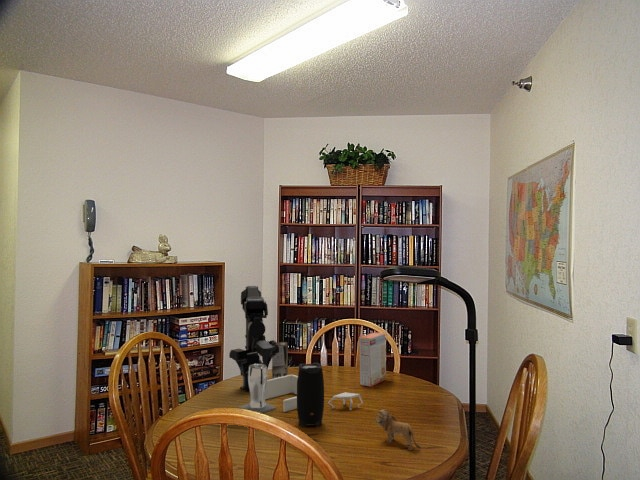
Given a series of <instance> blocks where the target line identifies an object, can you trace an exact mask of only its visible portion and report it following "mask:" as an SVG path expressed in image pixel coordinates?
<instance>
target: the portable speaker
mask: <svg viewBox="0 0 640 480" xmlns="http://www.w3.org/2000/svg"><path fill="white" fill-rule="evenodd" d="M323 373H324V370H323V365H322V364H321V363H319V362H312V363H300V364H299V365H298V373H297V376H298V379H297V394H296V396H297V408H296V409H297V418H298V425H300V426H301V427H304V428H306V427H307V426H314V427H319V426H320V427H321V425H322V423H323V422H322V421H323V417H324V409H325V381H324V374H323Z"/></svg>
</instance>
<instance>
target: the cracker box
mask: <svg viewBox="0 0 640 480" xmlns="http://www.w3.org/2000/svg"><path fill="white" fill-rule="evenodd" d="M358 338H359V339H358V340H359V344H358V345H359V347H358V349H359V386H363V387H369V388H372V387H374V386H376V385H378V384H379V383H382V382H384V381H386V380H387V374H386V373H387V362H386V361H387V360H386V359H387V352H386V347H387V345H386V333H384V332H377V331H376V332H371V333H368V334H365V335H362V336H359V337H358Z"/></svg>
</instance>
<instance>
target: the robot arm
mask: <svg viewBox="0 0 640 480" xmlns="http://www.w3.org/2000/svg"><path fill="white" fill-rule="evenodd" d="M240 305H241V307H242V311H243V312H244V317H245V335H244V337H245V346H244V349H241V348H236V349H231V350H230V351H229V358H230V359H231V360H234V361H235V362H236V364H237V366H238V368H239V370H240V371H239V372H240V376H242V381H243V382H242V384H243V385H242V386H240V387H239V389H241V390H244V391H245V392H250V390H249V383H248V372H249V365H252V364H265V365H267V370H268V368H269V365H270V363H271V362H272V358H273V357H274V356H275V355H276V354H275V353H279V346H278V345H276V342H277V341H276V340H273V339H272V340H269V341H268V340H266V335H264V334H265V333H266V325H265V324H264V320H263V319H267V316H269V310H268V304H267V301H266V300H265V299H264V297H262V292H261V291H260V290H259V286H257V285H247V286H245V289H244V290H242V291H241V293H240ZM260 357H261V358H262V359H261V358H260Z"/></svg>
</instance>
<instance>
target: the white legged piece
mask: <svg viewBox="0 0 640 480" xmlns="http://www.w3.org/2000/svg"><path fill="white" fill-rule="evenodd" d="M356 397H357V398H358V399H359V401H360V403H359V404H357V405H356V407H358V408H359V409H360V408H361V407H360V405H362V404H364V402H363V400H362V399H363V398H362V397H361V394H360V393H353V392H346V391H345V392H342V393H339V394H336V395H332V398H331V399H329V400H328V402H327V404H328V405H330V406H331V408H332V410H333V409H335V405H333V404H332V402H333V401H334V400H335V399H342V400H343V401H342V402H343V404H342V405H344V406H345V405H346V399H349V401H350V404H349V411H352V406H353V403H354V402H353V398H356Z"/></svg>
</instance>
